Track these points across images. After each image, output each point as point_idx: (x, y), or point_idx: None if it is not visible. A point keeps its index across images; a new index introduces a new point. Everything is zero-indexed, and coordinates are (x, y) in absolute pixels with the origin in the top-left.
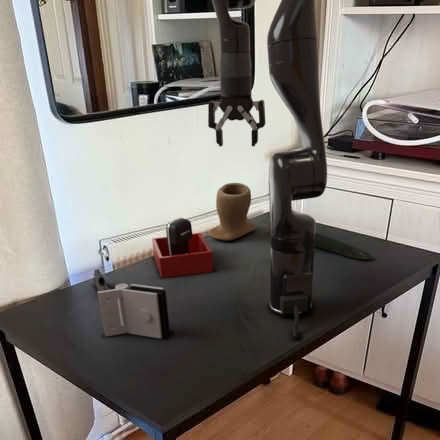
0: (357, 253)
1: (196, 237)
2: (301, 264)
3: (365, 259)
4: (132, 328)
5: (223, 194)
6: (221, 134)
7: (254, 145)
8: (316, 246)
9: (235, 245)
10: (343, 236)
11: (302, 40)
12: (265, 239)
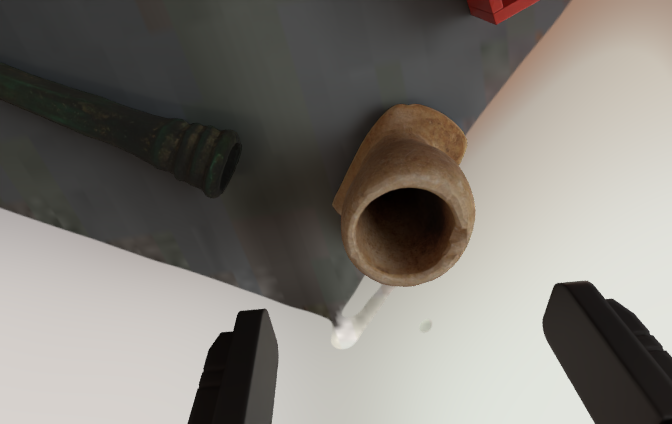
0: None
1: (506, 1)
2: None
3: None
4: None
5: (444, 183)
6: (617, 391)
7: (241, 318)
8: (104, 98)
9: (368, 91)
10: (97, 213)
11: None
12: (292, 156)
